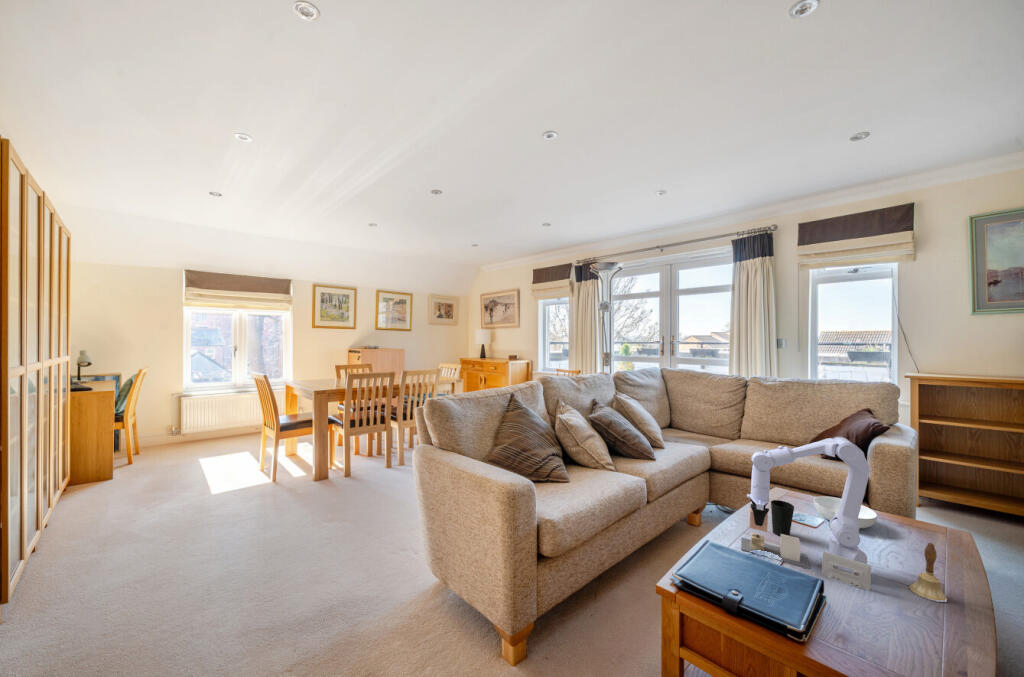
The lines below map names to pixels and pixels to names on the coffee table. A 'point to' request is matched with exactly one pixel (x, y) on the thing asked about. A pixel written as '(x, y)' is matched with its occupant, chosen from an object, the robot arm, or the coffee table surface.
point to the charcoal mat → (775, 550)
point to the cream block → (790, 547)
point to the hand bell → (928, 578)
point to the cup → (781, 517)
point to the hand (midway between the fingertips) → (758, 521)
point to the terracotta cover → (753, 526)
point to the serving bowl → (831, 506)
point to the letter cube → (757, 542)
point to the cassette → (845, 576)
